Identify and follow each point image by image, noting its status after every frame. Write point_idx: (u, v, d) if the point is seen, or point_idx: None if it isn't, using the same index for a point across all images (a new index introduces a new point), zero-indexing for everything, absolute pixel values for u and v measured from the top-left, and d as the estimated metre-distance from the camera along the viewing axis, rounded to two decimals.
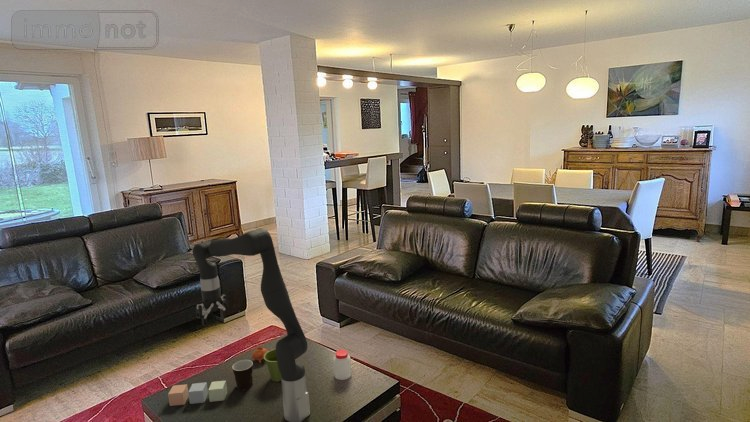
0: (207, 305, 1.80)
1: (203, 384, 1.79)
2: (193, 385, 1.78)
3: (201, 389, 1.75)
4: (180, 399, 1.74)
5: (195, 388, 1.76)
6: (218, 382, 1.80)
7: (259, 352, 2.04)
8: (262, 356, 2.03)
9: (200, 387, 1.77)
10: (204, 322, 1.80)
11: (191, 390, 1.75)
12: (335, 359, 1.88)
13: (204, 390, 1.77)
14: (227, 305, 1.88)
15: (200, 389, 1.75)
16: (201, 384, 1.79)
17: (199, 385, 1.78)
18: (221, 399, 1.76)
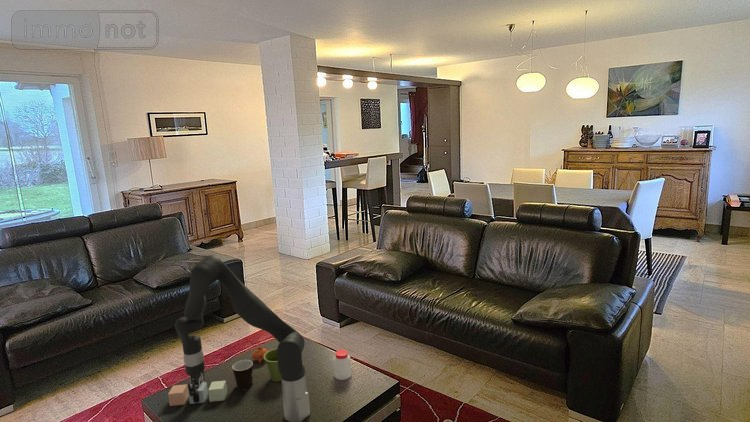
0: None
1: (203, 384, 1.79)
2: None
3: (201, 389, 1.75)
4: (180, 399, 1.74)
5: None
6: (218, 382, 1.80)
7: (259, 352, 2.04)
8: (262, 356, 2.03)
9: (200, 387, 1.77)
10: None
11: None
12: (335, 359, 1.88)
13: (204, 390, 1.77)
14: None
15: (200, 389, 1.75)
16: (201, 384, 1.79)
17: None
18: (221, 399, 1.76)
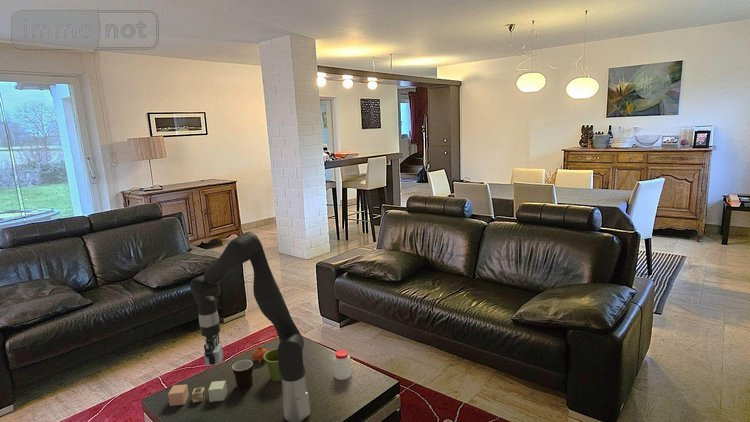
0: None
1: (218, 347, 1.77)
2: None
3: (217, 351, 1.73)
4: (180, 399, 1.74)
5: None
6: (218, 382, 1.80)
7: (259, 352, 2.04)
8: (262, 356, 2.03)
9: (215, 349, 1.75)
10: None
11: None
12: (335, 359, 1.88)
13: (219, 352, 1.74)
14: None
15: (216, 351, 1.73)
16: (216, 347, 1.77)
17: None
18: (221, 399, 1.76)
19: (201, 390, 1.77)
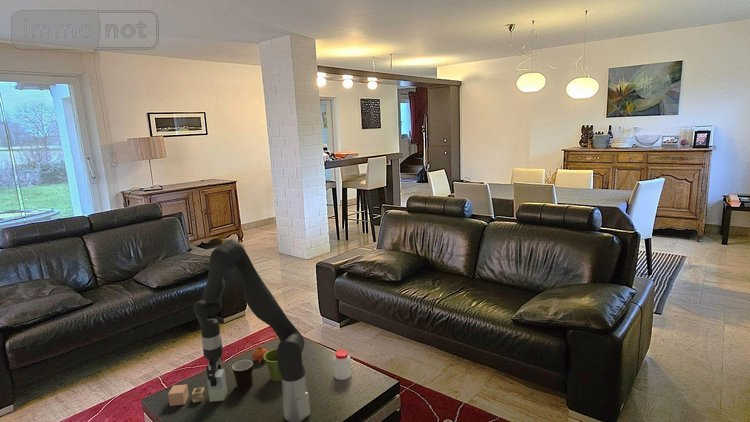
0: None
1: (221, 370, 1.79)
2: None
3: (219, 375, 1.75)
4: (180, 399, 1.74)
5: None
6: None
7: (259, 352, 2.04)
8: (262, 356, 2.03)
9: (218, 373, 1.77)
10: None
11: None
12: (335, 359, 1.88)
13: (222, 376, 1.77)
14: None
15: (218, 375, 1.75)
16: (219, 370, 1.79)
17: (217, 371, 1.78)
18: (221, 399, 1.76)
19: (201, 390, 1.77)
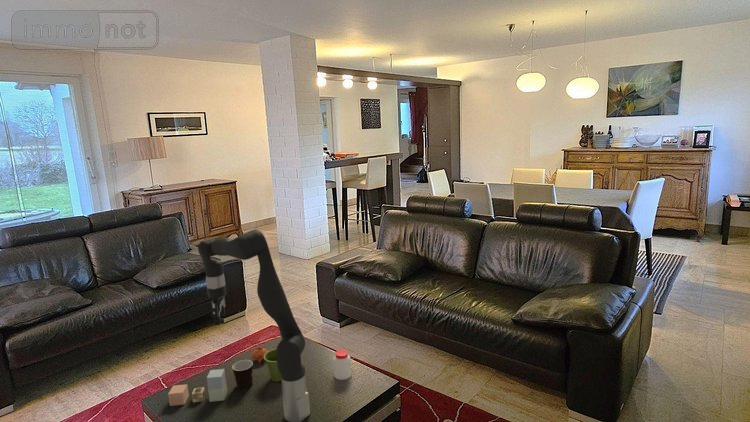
0: None
1: (221, 370, 1.79)
2: (211, 371, 1.78)
3: (219, 375, 1.75)
4: (180, 399, 1.74)
5: (214, 374, 1.76)
6: None
7: (259, 352, 2.04)
8: (262, 356, 2.03)
9: (218, 373, 1.77)
10: None
11: (209, 376, 1.75)
12: (335, 359, 1.88)
13: (222, 376, 1.77)
14: None
15: (218, 375, 1.75)
16: (219, 370, 1.79)
17: (217, 371, 1.78)
18: (221, 399, 1.76)
19: (201, 390, 1.77)
